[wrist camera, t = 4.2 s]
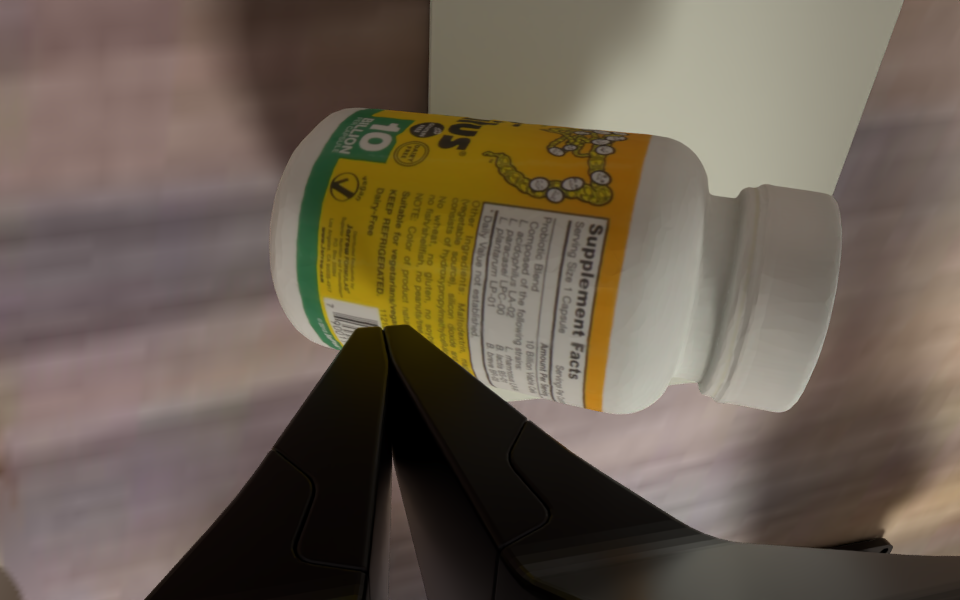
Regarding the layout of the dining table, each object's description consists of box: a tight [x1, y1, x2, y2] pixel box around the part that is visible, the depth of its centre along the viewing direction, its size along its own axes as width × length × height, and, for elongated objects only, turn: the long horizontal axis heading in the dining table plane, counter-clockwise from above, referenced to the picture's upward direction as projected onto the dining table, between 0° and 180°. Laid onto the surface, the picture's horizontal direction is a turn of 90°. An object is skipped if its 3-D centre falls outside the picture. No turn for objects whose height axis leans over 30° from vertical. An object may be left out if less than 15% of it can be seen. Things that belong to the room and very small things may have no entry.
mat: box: [428, 0, 904, 402], centre depth 17 cm, size 13×14×1 cm
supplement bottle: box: [269, 108, 842, 414], centre depth 12 cm, size 5×5×10 cm
